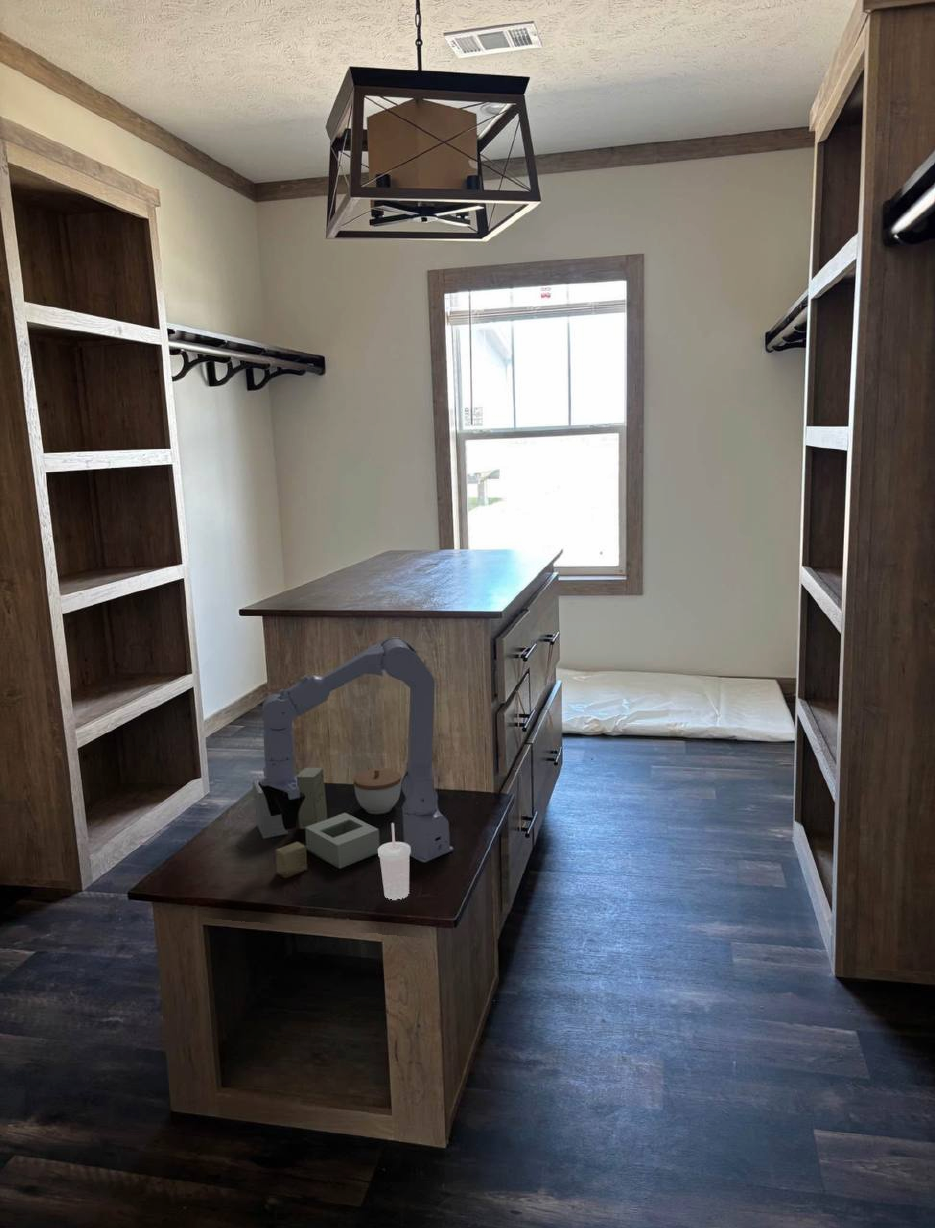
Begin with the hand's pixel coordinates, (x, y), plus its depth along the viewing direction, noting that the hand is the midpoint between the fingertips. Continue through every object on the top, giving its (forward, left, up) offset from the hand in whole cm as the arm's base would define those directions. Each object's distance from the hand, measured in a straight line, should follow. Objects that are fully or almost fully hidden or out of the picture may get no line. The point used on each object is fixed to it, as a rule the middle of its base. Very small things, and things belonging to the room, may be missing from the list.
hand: (282, 821), depth 177 cm
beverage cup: (-25, -9, -10) cm, 28 cm away
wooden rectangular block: (-3, 0, -10) cm, 10 cm away
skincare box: (+13, -15, -10) cm, 22 cm away
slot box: (-3, -12, -10) cm, 15 cm away
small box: (+17, -7, -10) cm, 21 cm away
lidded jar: (+9, -30, -10) cm, 33 cm away
